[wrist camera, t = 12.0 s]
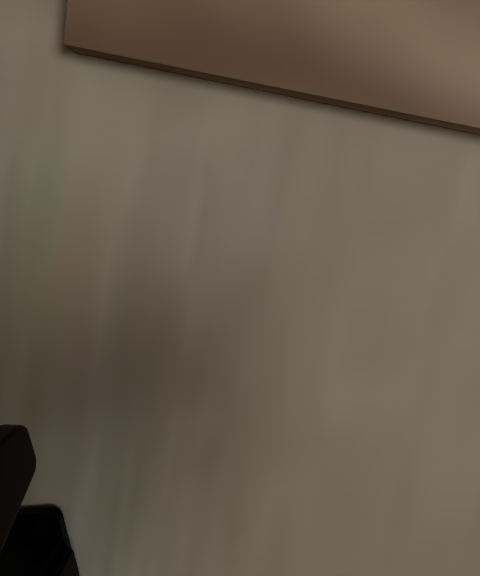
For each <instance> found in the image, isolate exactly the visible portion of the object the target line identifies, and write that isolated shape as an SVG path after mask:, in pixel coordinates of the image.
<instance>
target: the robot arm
mask: <svg viewBox="0 0 480 576" xmlns="http://www.w3.org/2000/svg"><path fill="white" fill-rule="evenodd" d="M35 469H36V456H35V453H34V449H33V446H32V443H31V439H30V436H29V432H28V430H27V428H26V427H25V426H22V425H9V424H5V425H0V576H79V571H78V567H77V563H76V559H75V555H74V551H73V550H72V548H71V546H70V542H69V538H68V534H67V530H66V526H65V522H64V518H63V514H62V512H61V511H60V510H59V509H58V508H56V507H39V508H25V509H19V508H20V506H21V503H22V501H23V499H24V496H25V494H26V492H27V489H28V487H29V484H30V482H31V480H32V477H33V475H34V472H35ZM49 517H51V518H53V519H50V518H49Z"/></svg>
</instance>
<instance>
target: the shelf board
mask: <svg viewBox="0 0 480 576" xmlns="http://www.w3.org/2000/svg"><path fill="white" fill-rule="evenodd" d="M63 44H64V45H65V46H67V47H68V48H69V49H71V50H72V51H73V52H75V53H80V54H85V55H90V56H95V57H100V58H104V59H109V60H114V61H119V62H124V63H129V64H134V65H139V66H144V67H149V68H154V69H159V70H164V71H169V72H174V73H179V74H184V75H189V76H194V77H199V78H204V79H208V80H213V81H218V82H223V83H228V84H233V85H238V86H243V87H248V88H253V89H258V90H263V91H268V92H273V93H278V94H283V95H288V96H293V97H298V98H303V99H308V100H313V101H317V102H322V103H327V104H332V105H337V106H342V107H347V108H352V109H357V110H362V111H367V112H372V113H377V114H382V115H387V116H392V117H397V118H402V119H407V120H412V121H417V122H421V123H426V124H431V125H436V126H441V127H446V128H451V129H456V130H461V131H466V132H471V133H476V134H480V0H67V9H66V20H65V31H64V42H63Z"/></svg>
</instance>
